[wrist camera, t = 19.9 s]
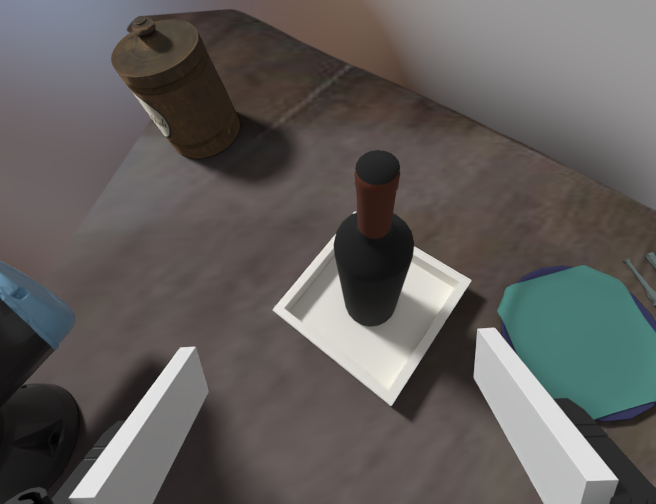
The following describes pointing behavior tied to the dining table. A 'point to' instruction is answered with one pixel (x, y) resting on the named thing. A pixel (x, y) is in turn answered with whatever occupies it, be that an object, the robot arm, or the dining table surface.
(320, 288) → the tray
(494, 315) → the dining table surface
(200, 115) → the wooden container
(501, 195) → the dining table surface
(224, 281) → the dining table surface
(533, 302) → the cutlery set
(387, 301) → the wine bottle
